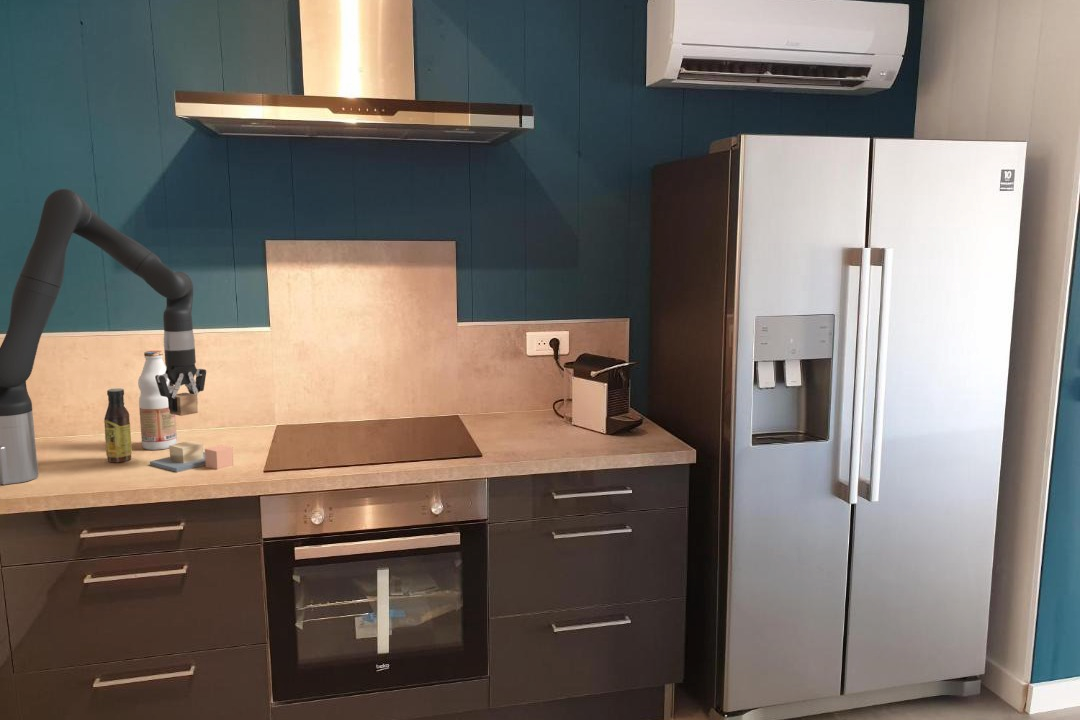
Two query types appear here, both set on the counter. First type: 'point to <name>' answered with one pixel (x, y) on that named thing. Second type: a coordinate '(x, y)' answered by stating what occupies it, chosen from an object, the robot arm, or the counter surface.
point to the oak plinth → (186, 451)
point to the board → (177, 464)
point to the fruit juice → (155, 406)
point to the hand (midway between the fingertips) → (183, 409)
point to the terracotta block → (219, 457)
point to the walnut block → (186, 404)
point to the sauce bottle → (117, 428)
